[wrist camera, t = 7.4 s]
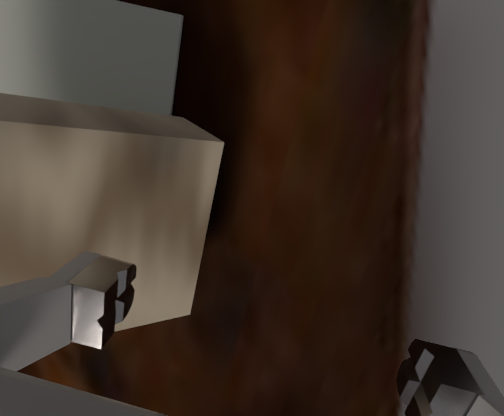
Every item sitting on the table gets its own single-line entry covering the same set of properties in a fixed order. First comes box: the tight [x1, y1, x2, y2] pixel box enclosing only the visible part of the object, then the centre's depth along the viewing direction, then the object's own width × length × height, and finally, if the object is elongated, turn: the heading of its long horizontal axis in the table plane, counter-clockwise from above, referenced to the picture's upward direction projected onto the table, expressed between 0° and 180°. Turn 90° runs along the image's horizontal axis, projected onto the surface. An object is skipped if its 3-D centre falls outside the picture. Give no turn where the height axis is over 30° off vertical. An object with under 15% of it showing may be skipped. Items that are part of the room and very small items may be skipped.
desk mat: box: [0, 0, 184, 116], centre depth 17 cm, size 16×14×1 cm
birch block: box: [0, 93, 224, 331], centre depth 13 cm, size 8×4×10 cm
